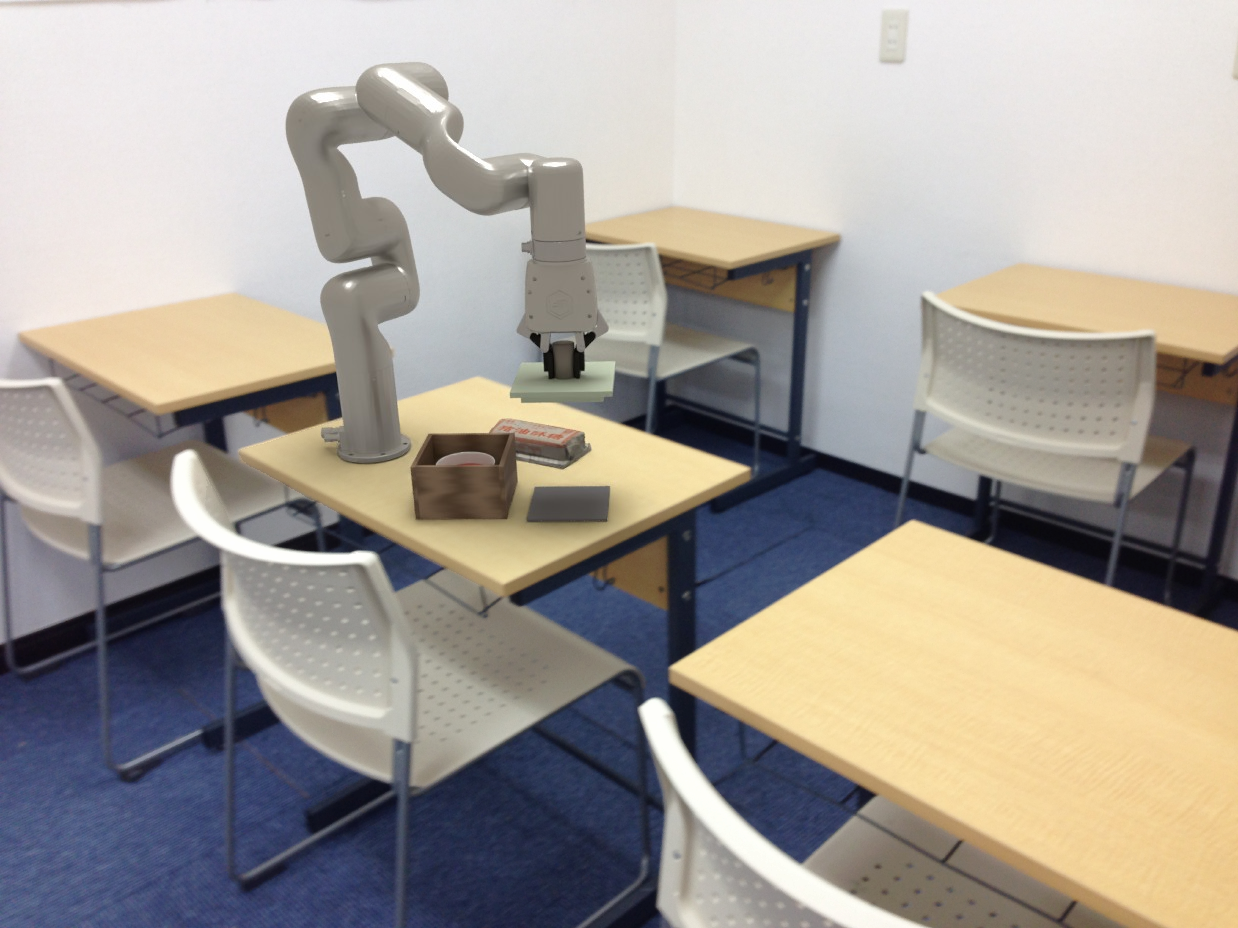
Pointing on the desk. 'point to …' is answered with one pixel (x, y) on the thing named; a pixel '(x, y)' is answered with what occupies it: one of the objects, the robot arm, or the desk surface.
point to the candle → (467, 459)
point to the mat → (569, 504)
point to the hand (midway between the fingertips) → (564, 374)
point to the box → (464, 477)
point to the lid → (564, 379)
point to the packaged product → (544, 442)
